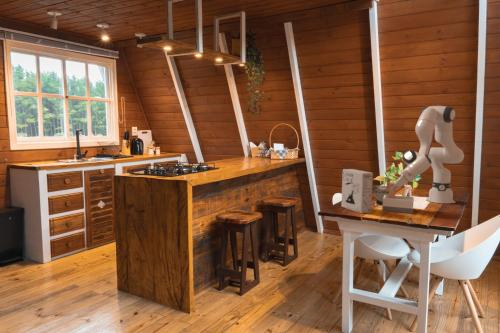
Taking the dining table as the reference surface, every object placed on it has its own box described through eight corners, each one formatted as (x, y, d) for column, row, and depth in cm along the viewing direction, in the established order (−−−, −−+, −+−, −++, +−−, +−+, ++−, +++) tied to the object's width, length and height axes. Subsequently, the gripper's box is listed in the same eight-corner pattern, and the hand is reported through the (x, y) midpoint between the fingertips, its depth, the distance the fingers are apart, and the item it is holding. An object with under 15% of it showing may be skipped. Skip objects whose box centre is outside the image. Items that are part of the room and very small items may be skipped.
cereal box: (341, 206, 262) (342, 169, 260) (350, 205, 265) (352, 168, 262) (361, 213, 242) (362, 173, 240) (371, 212, 245) (373, 172, 242)
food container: (392, 204, 273) (393, 189, 272) (393, 205, 267) (393, 191, 266) (373, 202, 276) (374, 188, 275) (374, 204, 270) (374, 190, 269)
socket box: (383, 206, 264) (384, 194, 263) (412, 209, 257) (413, 197, 256) (382, 210, 251) (382, 198, 250) (412, 213, 244) (413, 200, 243)
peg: (388, 197, 257) (389, 182, 256) (395, 197, 256) (396, 182, 255) (388, 198, 254) (389, 183, 253) (394, 198, 252) (395, 183, 251)
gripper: (405, 169, 260) (388, 183, 264) (404, 172, 241) (386, 187, 246) (412, 176, 258) (395, 190, 263) (411, 180, 240) (393, 195, 244)
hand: (391, 189), depth 254 cm, fingers closed on peg, 4 cm apart
